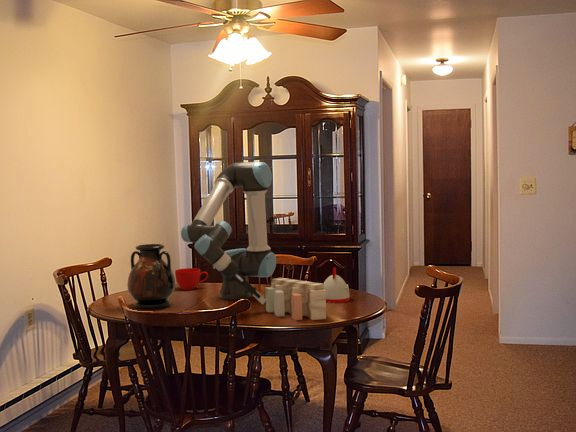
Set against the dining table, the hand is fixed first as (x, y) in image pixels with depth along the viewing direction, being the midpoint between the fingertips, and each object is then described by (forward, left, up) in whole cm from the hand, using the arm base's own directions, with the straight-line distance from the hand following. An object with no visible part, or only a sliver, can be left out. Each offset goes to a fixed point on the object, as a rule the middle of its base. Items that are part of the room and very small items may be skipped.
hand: (264, 302), depth 293 cm
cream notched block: (+9, +12, -4) cm, 16 cm away
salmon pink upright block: (+18, +9, -4) cm, 21 cm away
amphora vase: (-32, -45, -5) cm, 56 cm away
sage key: (0, +3, -4) cm, 5 cm away
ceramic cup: (-69, -22, -5) cm, 73 cm away
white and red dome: (-14, +37, -5) cm, 40 cm away
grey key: (+9, +4, -4) cm, 11 cm away
